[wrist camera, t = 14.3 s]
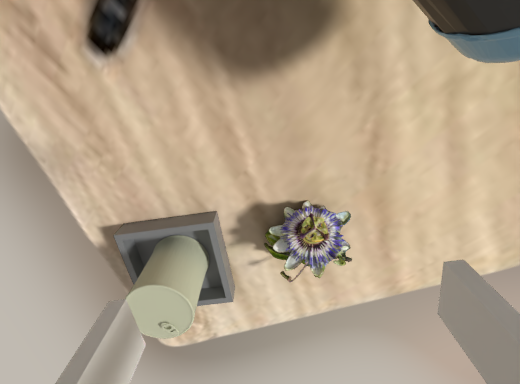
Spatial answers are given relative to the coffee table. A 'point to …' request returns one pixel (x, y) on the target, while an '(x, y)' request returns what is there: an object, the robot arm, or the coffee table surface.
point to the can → (169, 287)
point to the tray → (195, 226)
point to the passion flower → (309, 239)
